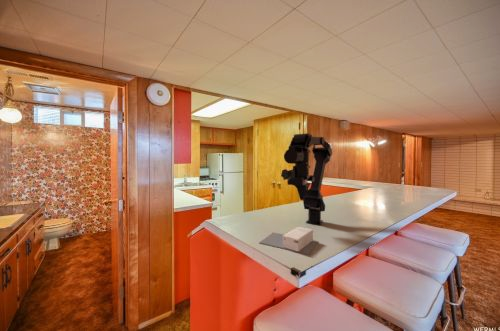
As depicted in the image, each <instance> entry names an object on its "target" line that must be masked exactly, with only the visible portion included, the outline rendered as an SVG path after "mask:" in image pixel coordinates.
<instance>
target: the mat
mask: <svg viewBox="0 0 500 331" xmlns="http://www.w3.org/2000/svg"><path fill="white" fill-rule="evenodd" d="M283 235H284V233H283V234H282V233H278V232H272V233H270V234H268V236H267V235H266V237H265V238H263V239H261V241H258V244H260V245H265V246H270V247H273V248H278V249H282V250H285V251H286V250H287V251H290V252H294V253H300V254H304V255H308V256H310V255H311V253H312V252H313V250H314V249H315V247H316V246H317V244H318V243H319V241H318V240H314V239H313V241H311V242H310V243H309V244H308V245H306V246H305V247H304V248H302V249H301V250H300V251H295V250H291V249H288V248H285V247H283Z"/></svg>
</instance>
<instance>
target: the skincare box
mask: <svg viewBox="0 0 500 331" xmlns="http://www.w3.org/2000/svg"><path fill="white" fill-rule="evenodd" d="M283 234H284V233H283ZM313 240H314V230H313V229H312V228H307V227H302V226H297V227H295V228H293V229H292V230H290V231H289V232H286V233H285V234H284V235H283V247H285V248H288V249H291V250H295V251H300V250H301V249H302V248H304V247H305V246H306V245H308V244H309V243H310V242H311V241H313Z"/></svg>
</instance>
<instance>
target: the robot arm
mask: <svg viewBox="0 0 500 331" xmlns="http://www.w3.org/2000/svg"><path fill="white" fill-rule="evenodd" d="M316 146H318V147H316ZM319 146H321V147H319ZM310 147H312V150H311V151H310V149H309V148H310ZM311 152H312V154H313V158H314V161H315V165H314V170H313V174H312V175H311V174H310V170H309V169H311V165H310V153H311ZM332 155H333V150H332V147H331V145H330V143H329V142H327V141H326V139H325V137H323V136H313V134H311V133H309V132H307V133H306V132H305V133H295V134H294V135H293V137H292V138H291V141H290V144H289V146H288V149H286V150H285V152H284V154H283V158H284V161H285V162H286V163H287V164H293V166H292V169H290V170H288V168H287V169H286V168H284V169H282V170H281V173H280V174H281V175H280V177H282V178H283V181H285V180H287V186H288V185H289V186H294V187H295V188H296V189H297V193H298V197H299V200H300V201H302V203H303V208H304V209H303V210H308V214H307V216H308V218H307V220H306V221H305V222H306V223H307V224H312V225H318V226H319V225H322V223H323V222H324V220H323V219H321V218H322V212H325V211H326V204H325V201H324V198H323V194H322V192H321V190H322V185H323V179H324V174H325V168H326V165H327V164H328V162H330V160H331V157H332ZM309 182H311V183H309ZM309 187H310V188H309Z"/></svg>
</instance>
